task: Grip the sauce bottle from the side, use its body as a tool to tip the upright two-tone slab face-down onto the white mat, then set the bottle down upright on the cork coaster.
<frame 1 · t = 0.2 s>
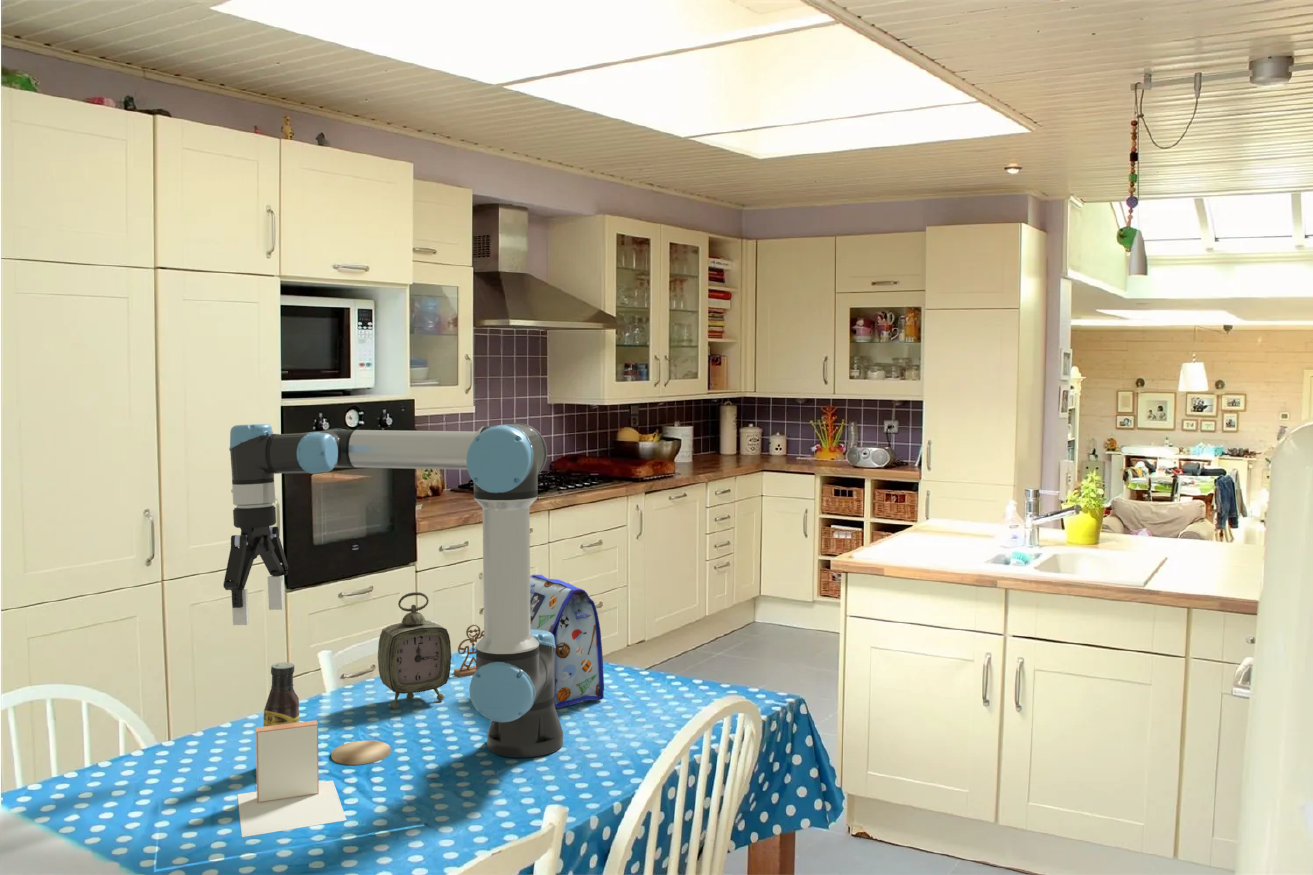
hand: (259, 616, 195), 27 cm above the table, tool pointing down, fingers open, 13 cm apart
lunch bag: (553, 694, 238), on the table
sauce bottle: (281, 770, 191), on the table
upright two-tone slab: (287, 795, 178), resting on white mat
cork coaster: (361, 755, 198), on the table
white mat: (290, 808, 174), on the table
tabletop clock: (413, 702, 231), on the table
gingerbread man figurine: (473, 673, 254), on the table
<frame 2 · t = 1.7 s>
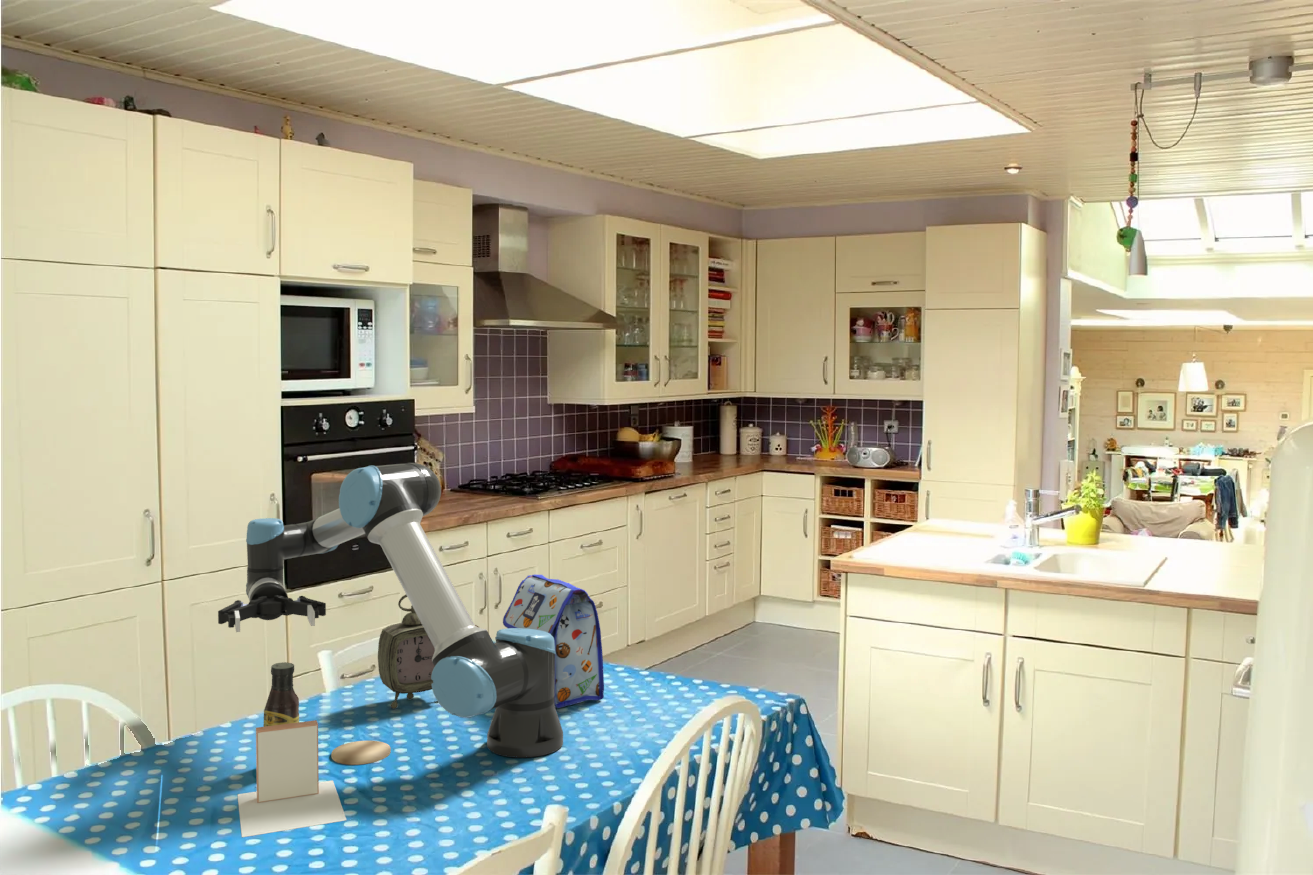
hand: (276, 621, 198), 26 cm above the table, tool horizontal, fingers open, 13 cm apart
nothing on the table moved.
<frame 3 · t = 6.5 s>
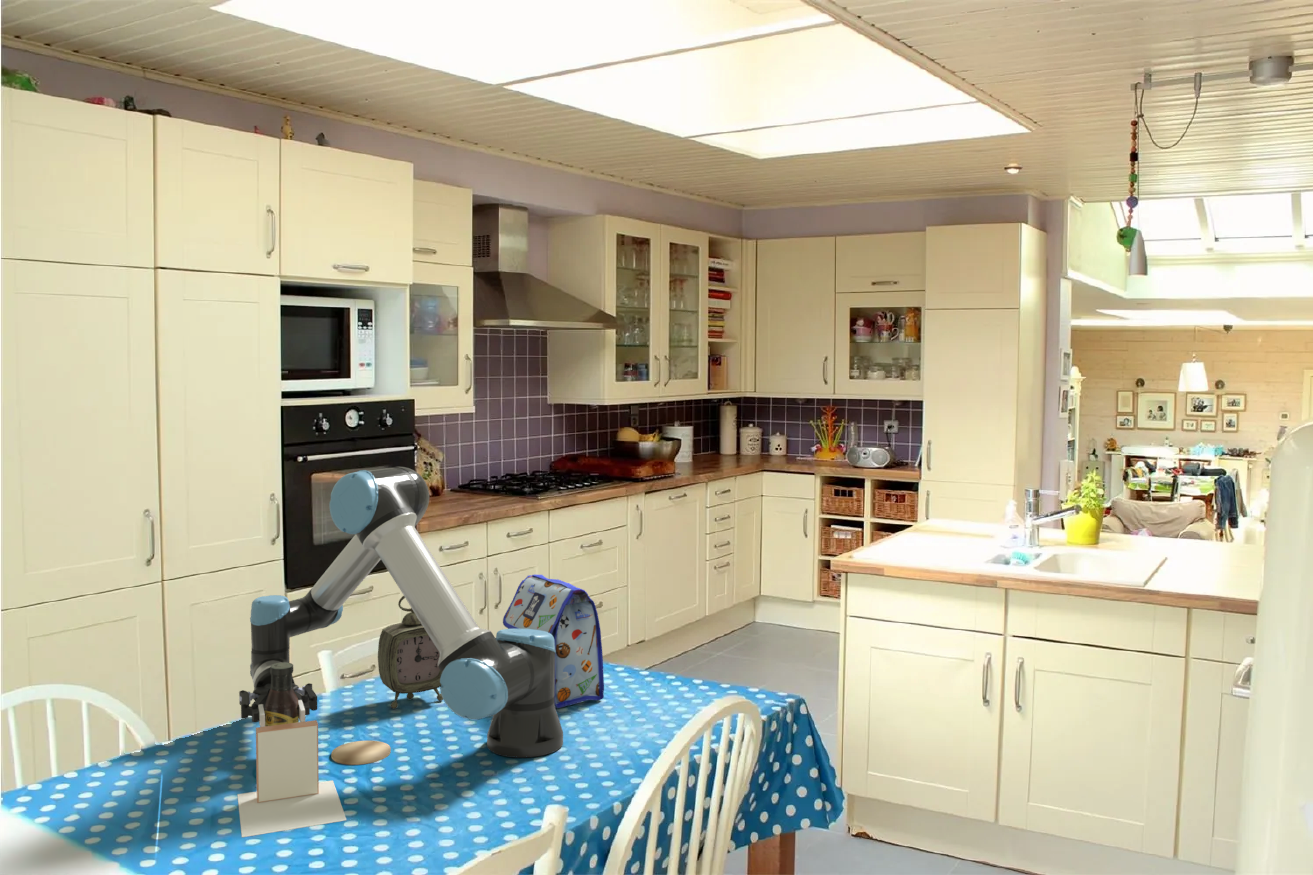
hand: (283, 719, 186), 11 cm above the table, tool horizontal, fingers closed on sauce bottle, 6 cm apart
sauce bottle: (281, 770, 191), on the table, touching gripper
everything else where it was.
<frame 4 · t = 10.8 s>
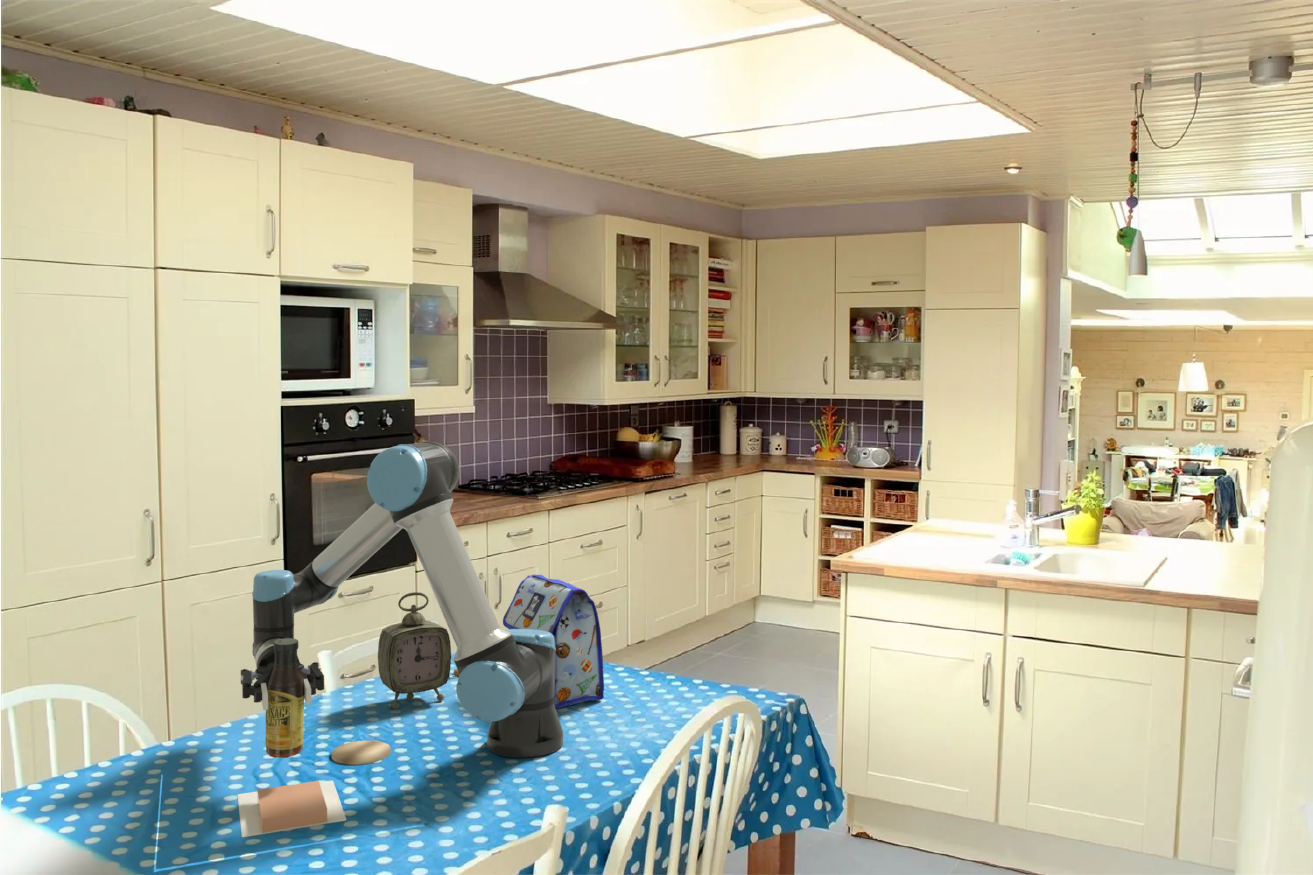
hand: (287, 699, 172), 19 cm above the table, tool horizontal, fingers closed on sauce bottle, 6 cm apart
sauce bottle: (285, 754, 178), point 8 cm above the table, touching gripper
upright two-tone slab: (288, 791, 177), point 2 cm above the table, tilted 90°, touching white mat
everything else where it was.
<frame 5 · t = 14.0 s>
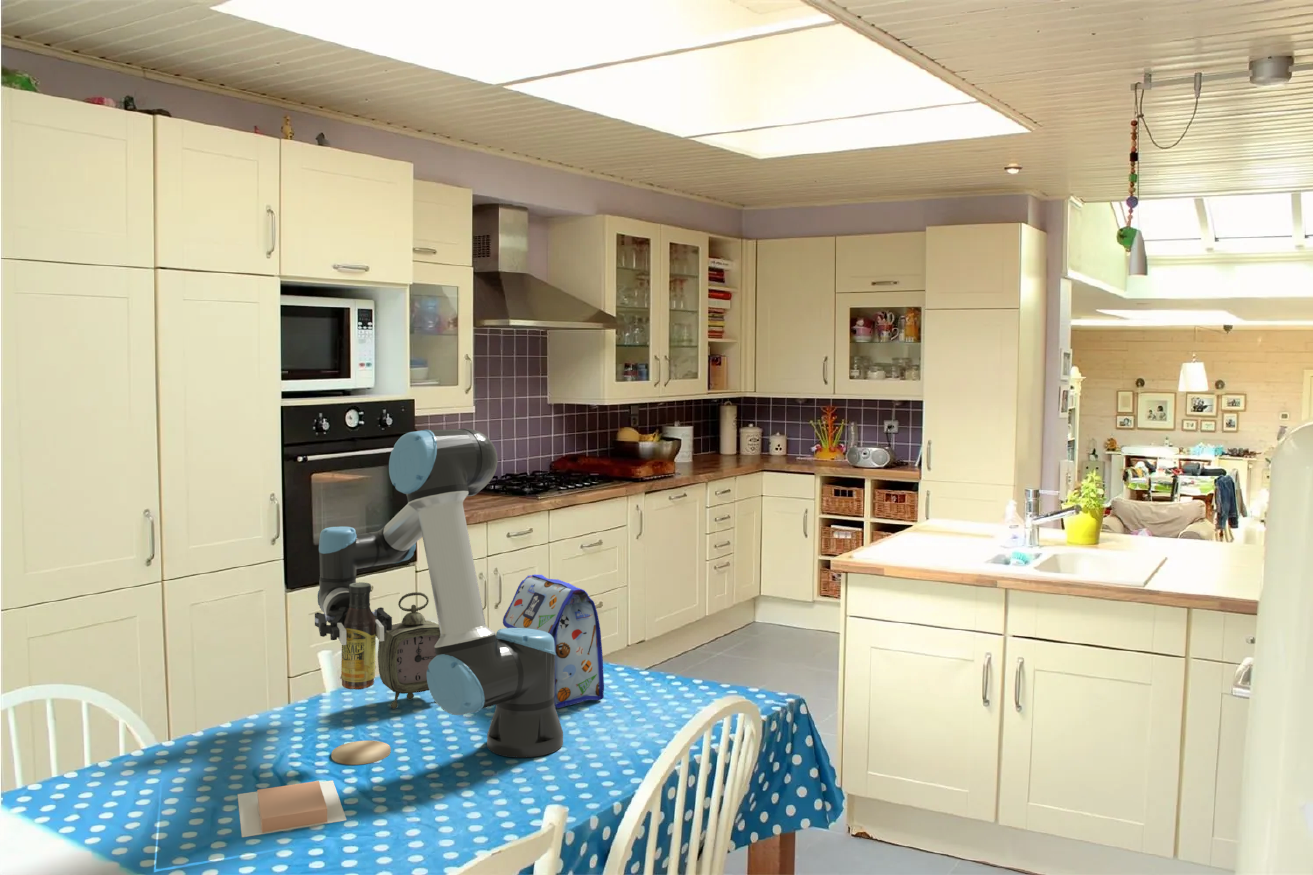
hand: (363, 635, 191), 25 cm above the table, tool horizontal, fingers closed on sauce bottle, 6 cm apart
sauce bottle: (359, 687, 197), point 14 cm above the table, touching gripper
everything else where it was.
when the fingers open (14 cm above the table, at t = 16.6 s): sauce bottle drops 2 cm, resting on cork coaster.
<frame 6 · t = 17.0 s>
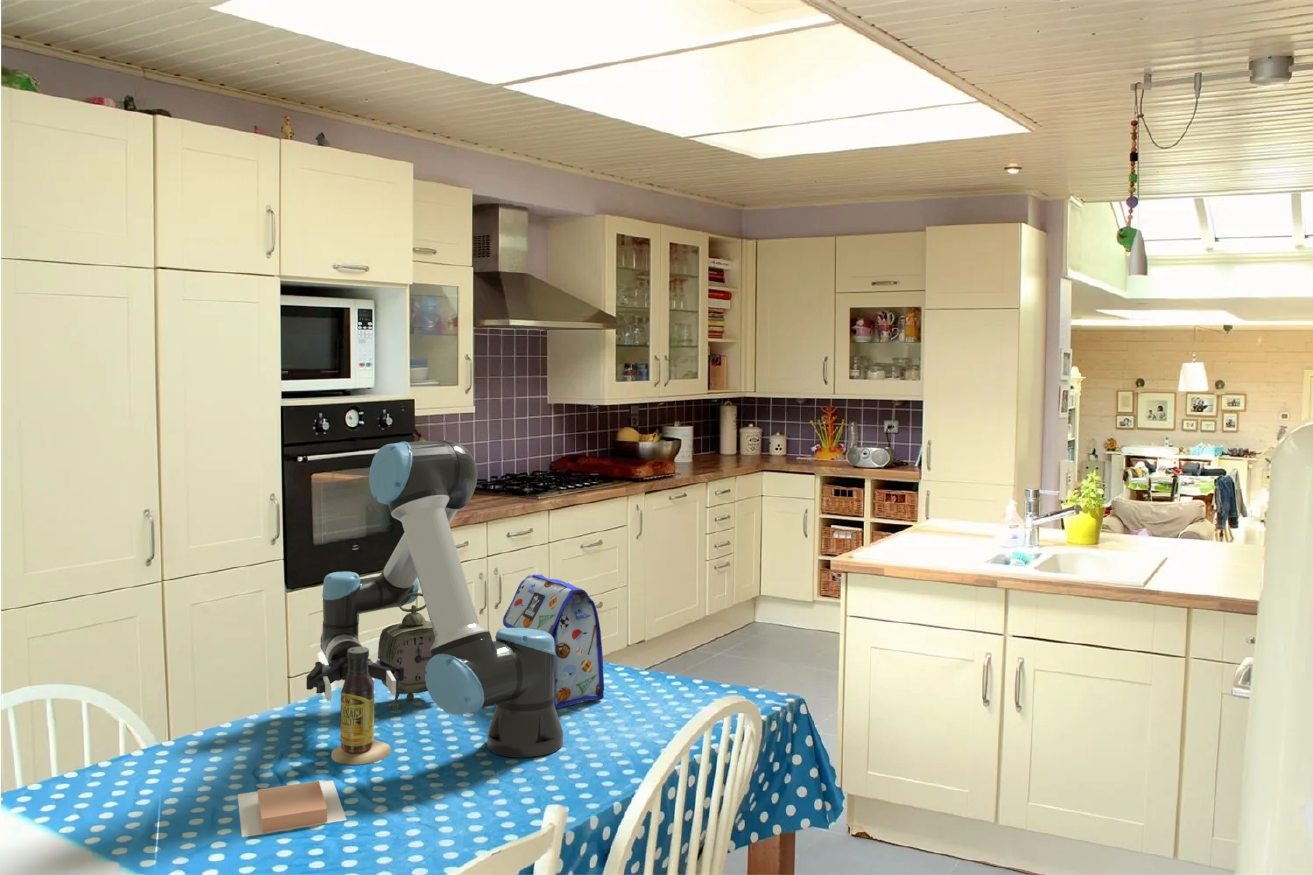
hand: (362, 690, 194), 14 cm above the table, tool horizontal, fingers open, 11 cm apart
sauce bottle: (358, 749, 199), point 1 cm above the table, touching cork coaster
tabletop clock: (413, 703, 231), on the table, touching arm
everything else where it was.
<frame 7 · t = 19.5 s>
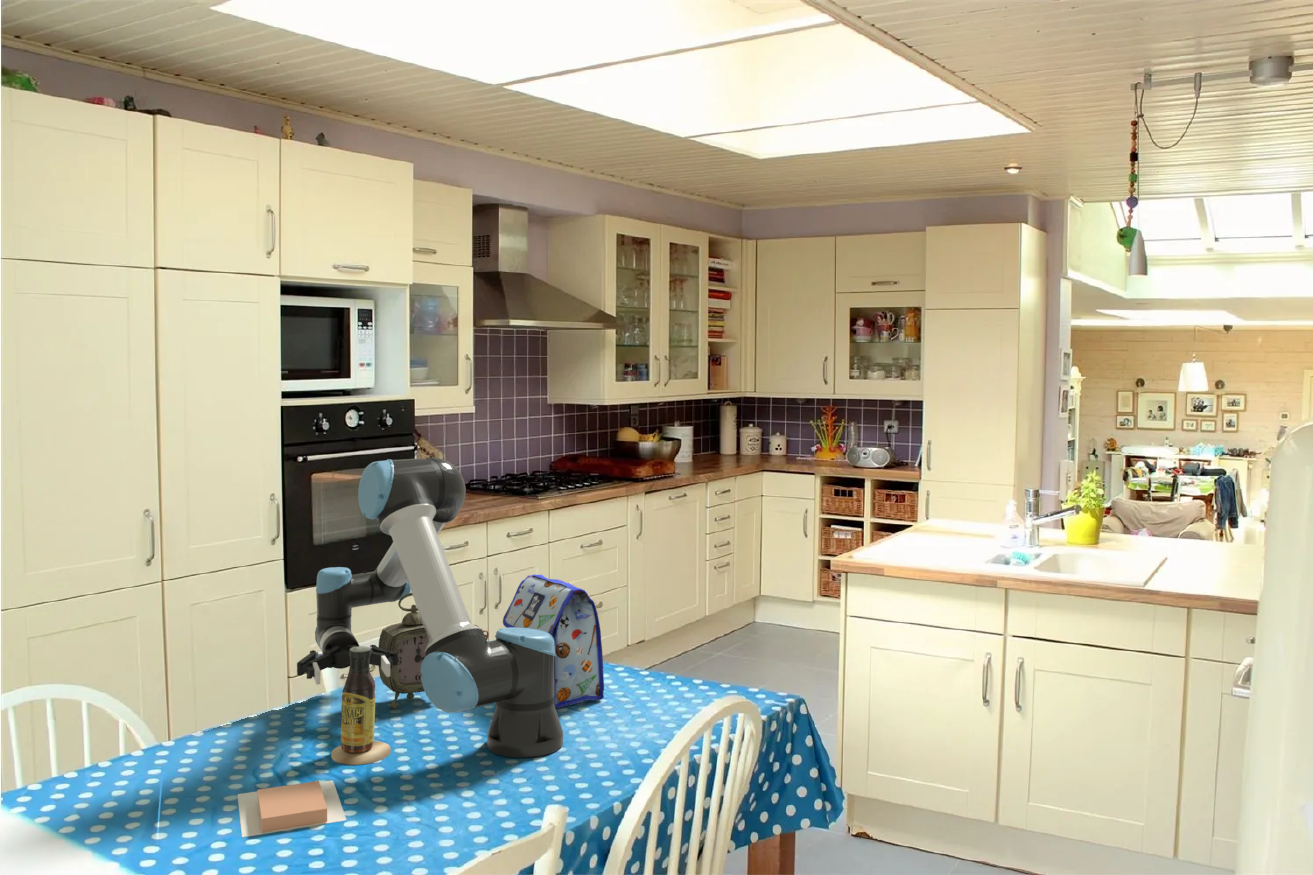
hand: (353, 673, 205), 14 cm above the table, tool horizontal, fingers open, 13 cm apart
tabletop clock: (413, 702, 231), on the table
everything else where it was.
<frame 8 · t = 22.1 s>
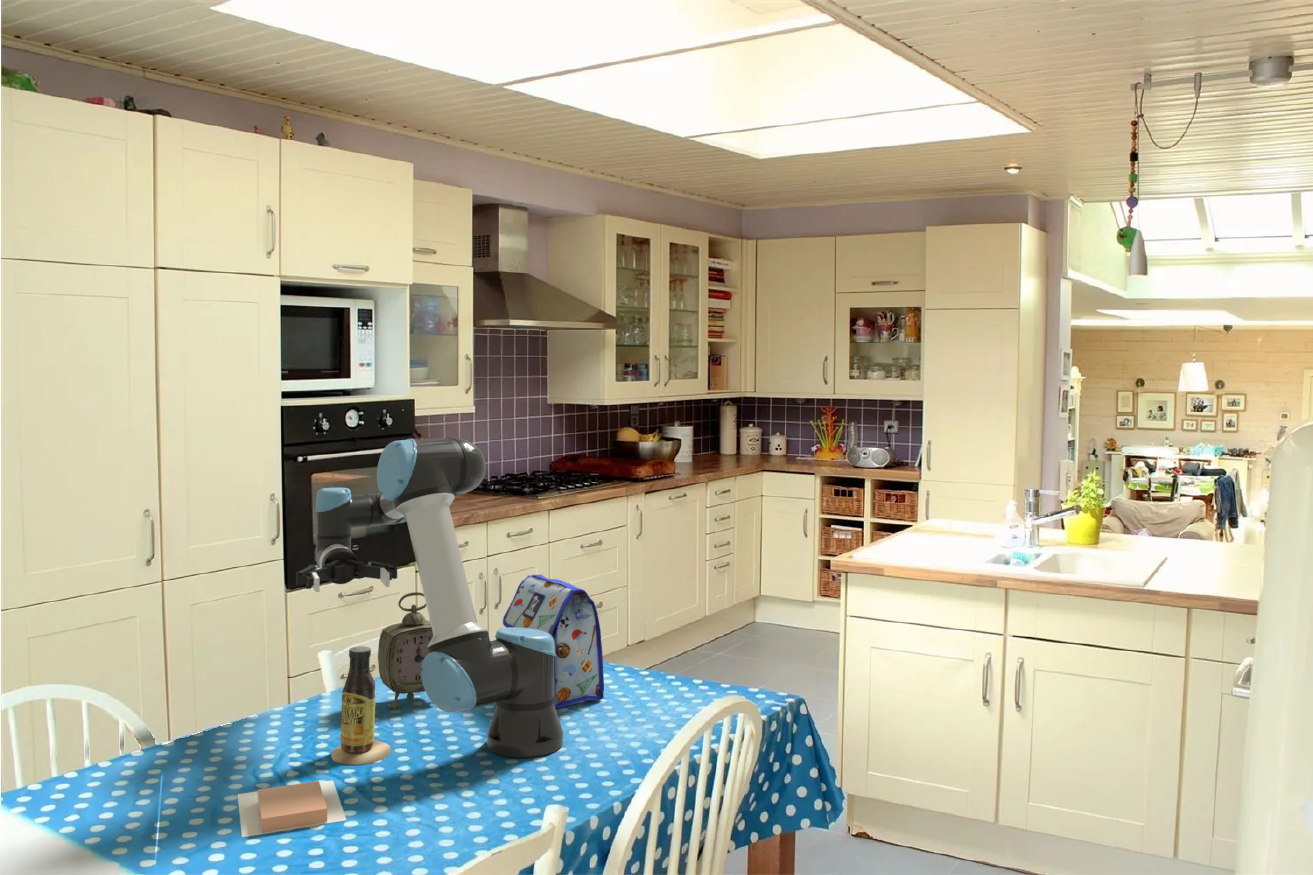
hand: (353, 582, 205), 32 cm above the table, tool horizontal, fingers open, 13 cm apart
nothing on the table moved.
at the end: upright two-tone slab tilted 90°; sauce bottle 1.1 cm from the cork coaster (horizontally); sauce bottle tilted 0° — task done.
